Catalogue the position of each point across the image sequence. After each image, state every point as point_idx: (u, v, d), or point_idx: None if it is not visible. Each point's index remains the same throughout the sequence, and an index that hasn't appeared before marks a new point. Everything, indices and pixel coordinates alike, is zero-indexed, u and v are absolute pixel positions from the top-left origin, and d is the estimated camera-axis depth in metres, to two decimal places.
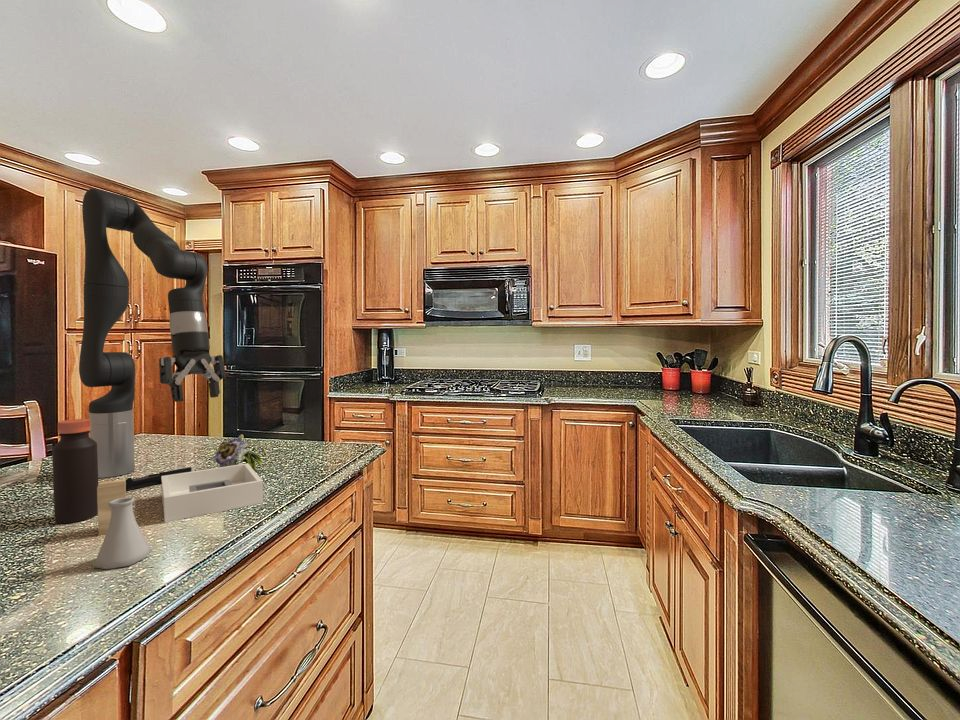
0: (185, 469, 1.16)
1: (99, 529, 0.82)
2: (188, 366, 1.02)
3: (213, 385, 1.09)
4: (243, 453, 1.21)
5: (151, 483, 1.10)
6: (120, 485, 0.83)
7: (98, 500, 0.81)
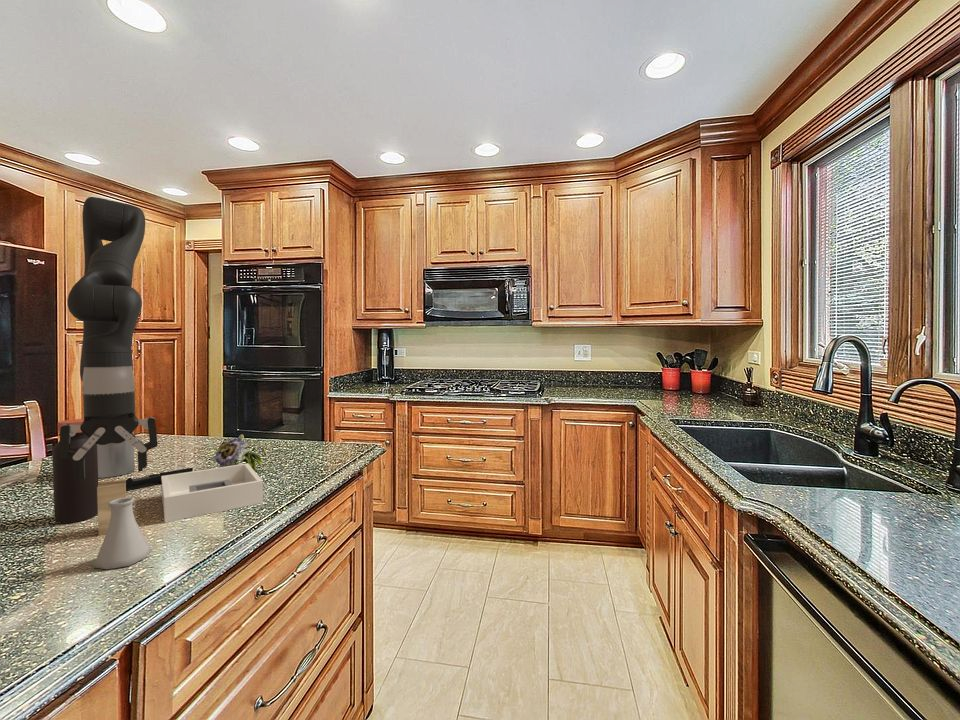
0: (186, 469, 1.16)
1: (99, 529, 0.82)
2: (93, 437, 0.81)
3: None
4: (243, 453, 1.21)
5: (151, 483, 1.10)
6: (120, 485, 0.83)
7: (98, 500, 0.81)
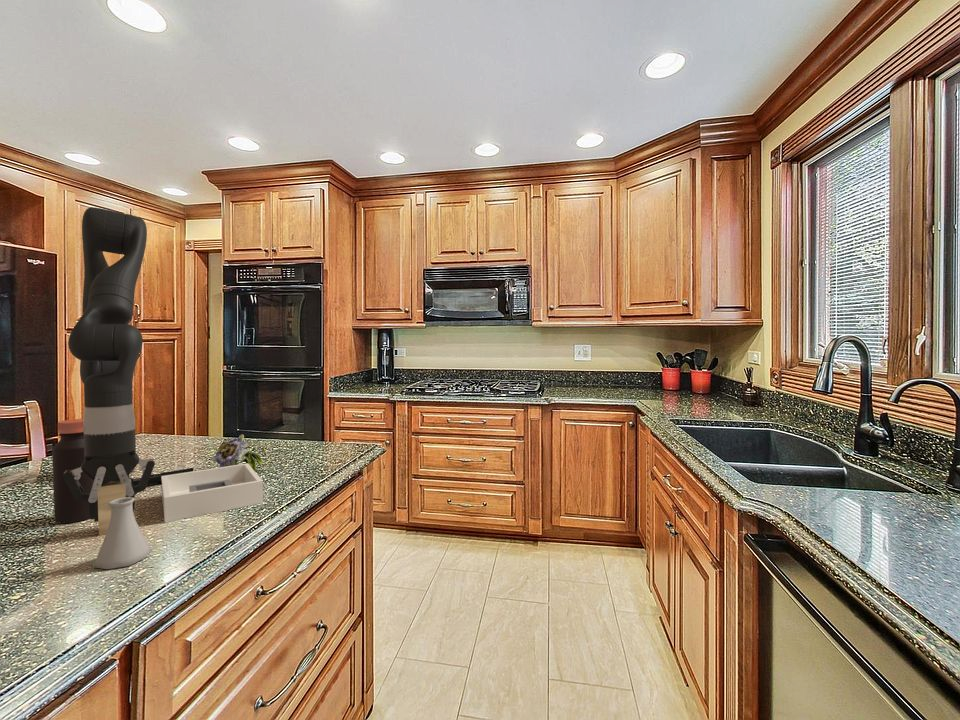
0: (187, 470, 1.16)
1: (99, 529, 0.82)
2: (98, 478, 0.82)
3: None
4: (243, 453, 1.21)
5: (152, 483, 1.10)
6: (120, 485, 0.83)
7: (98, 500, 0.81)
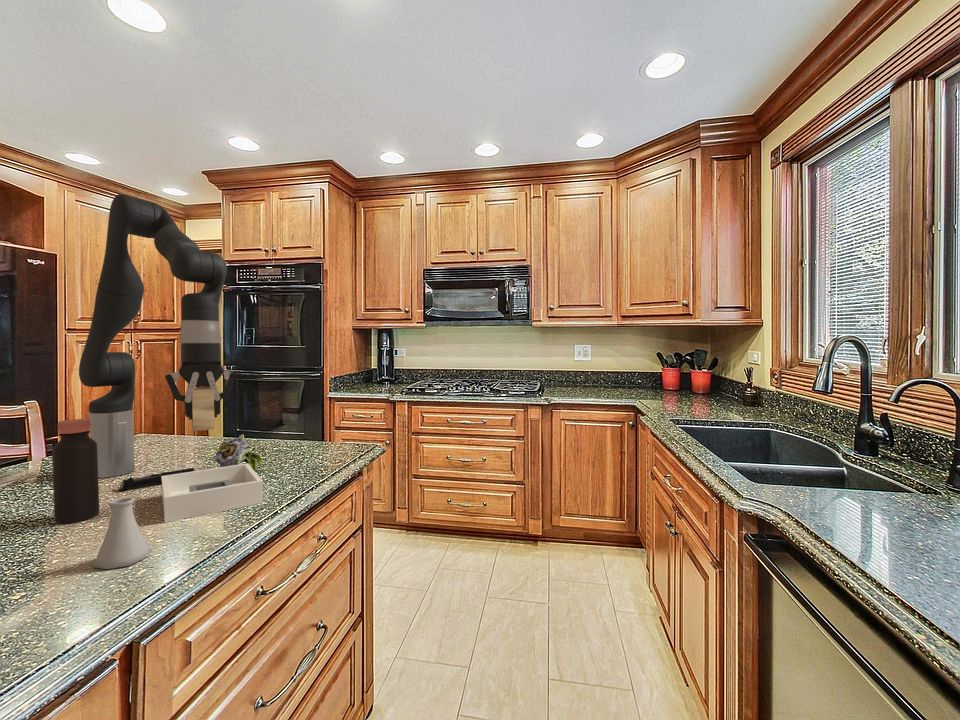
0: (187, 470, 1.16)
1: (193, 425, 0.95)
2: (193, 381, 0.95)
3: None
4: (244, 453, 1.21)
5: (152, 483, 1.10)
6: (210, 389, 0.97)
7: (193, 400, 0.95)
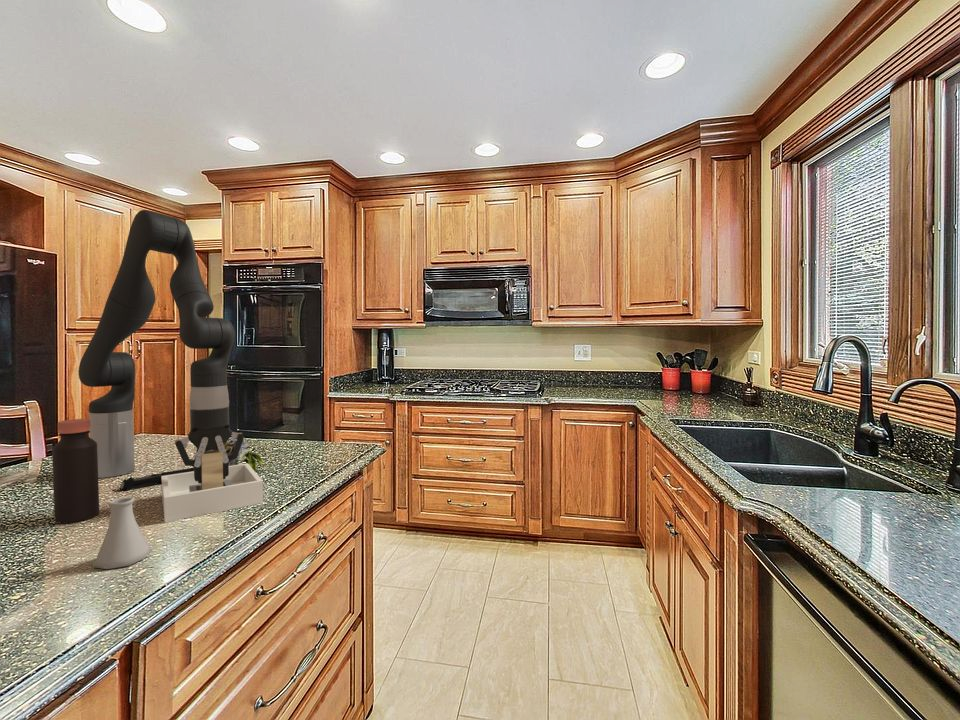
0: (187, 470, 1.16)
1: (203, 489, 0.97)
2: (202, 446, 0.97)
3: None
4: (244, 453, 1.21)
5: (152, 483, 1.10)
6: (219, 453, 0.99)
7: (202, 465, 0.97)
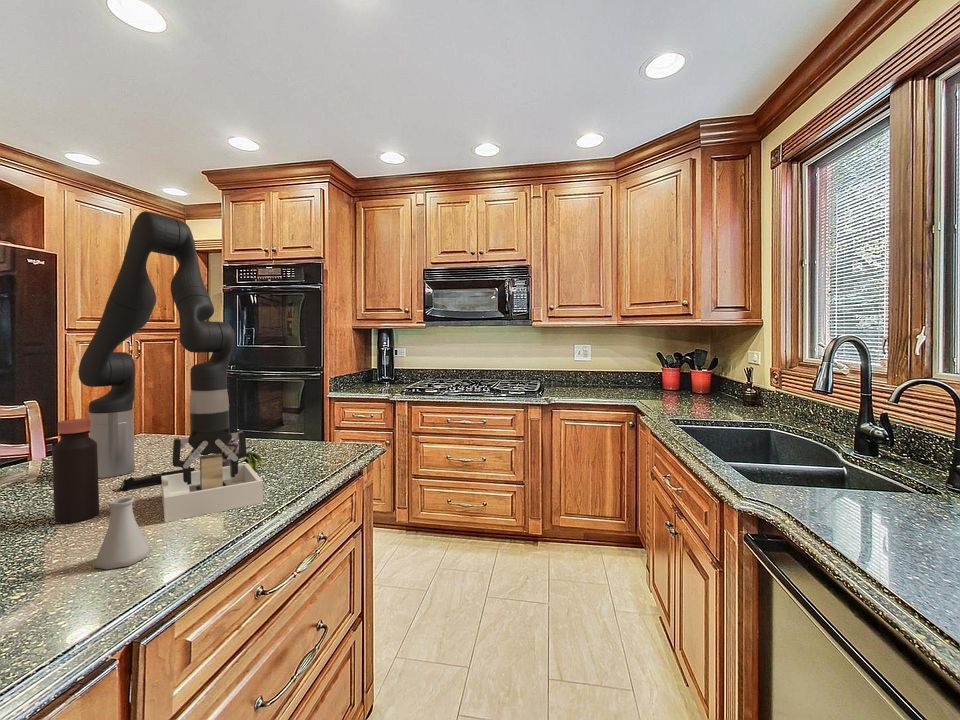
0: None
1: None
2: (199, 449, 0.97)
3: (231, 465, 1.02)
4: None
5: (152, 483, 1.10)
6: (218, 458, 0.99)
7: (202, 470, 0.97)
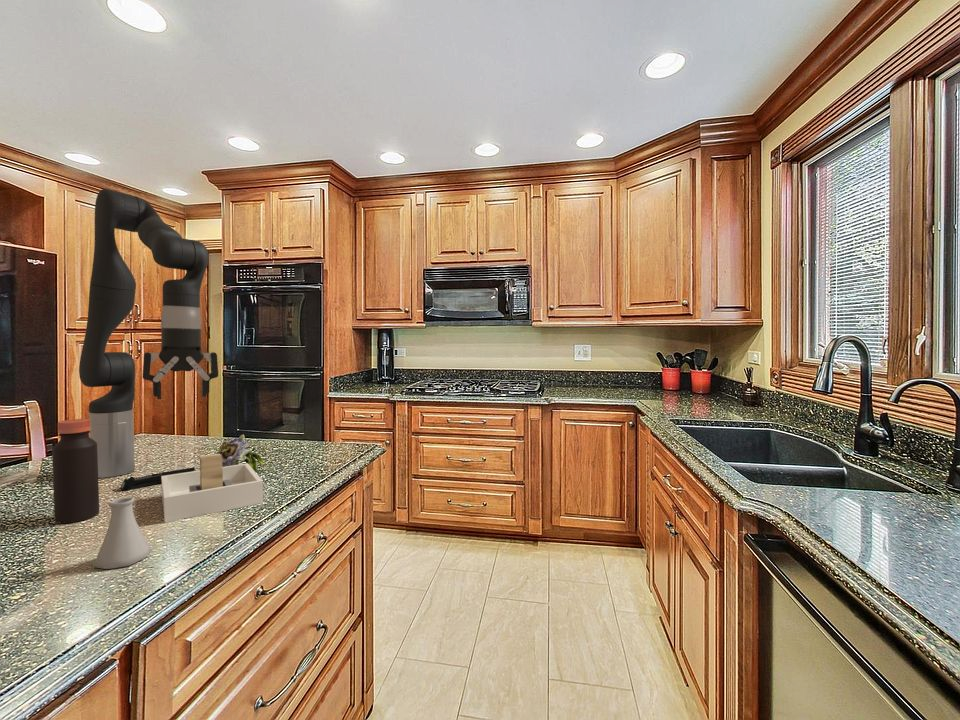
0: (188, 469, 1.16)
1: None
2: (169, 364, 0.98)
3: (202, 384, 1.03)
4: (244, 453, 1.21)
5: (153, 483, 1.10)
6: (218, 458, 0.99)
7: (202, 470, 0.97)
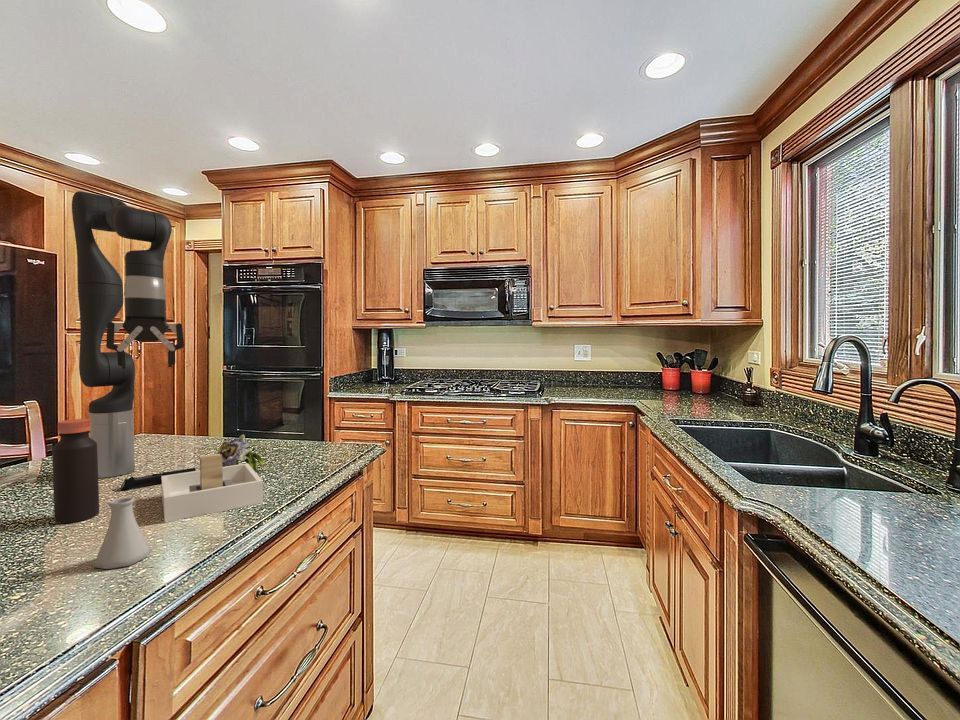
0: (189, 470, 1.16)
1: None
2: (133, 334, 0.99)
3: (168, 354, 1.04)
4: (244, 453, 1.21)
5: (153, 483, 1.10)
6: (218, 458, 0.99)
7: (202, 470, 0.97)
